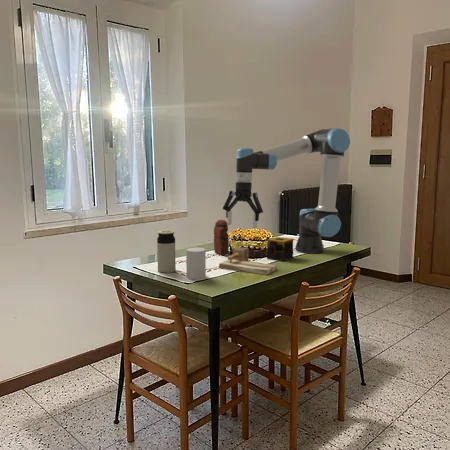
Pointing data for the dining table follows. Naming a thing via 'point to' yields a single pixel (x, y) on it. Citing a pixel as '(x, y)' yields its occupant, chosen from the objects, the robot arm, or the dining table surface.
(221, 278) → the dining table surface
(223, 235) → the wooden figurine
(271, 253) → the candle
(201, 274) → the grey cylinder
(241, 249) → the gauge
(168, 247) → the travel mug
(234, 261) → the board
